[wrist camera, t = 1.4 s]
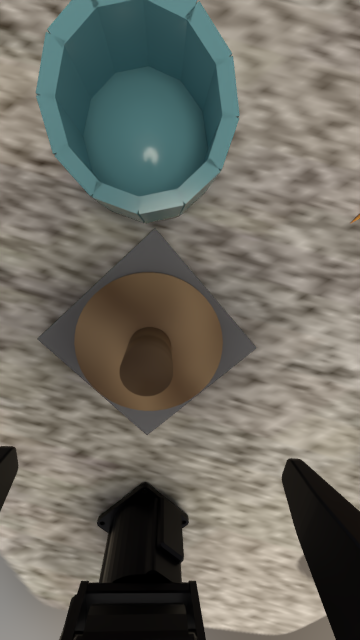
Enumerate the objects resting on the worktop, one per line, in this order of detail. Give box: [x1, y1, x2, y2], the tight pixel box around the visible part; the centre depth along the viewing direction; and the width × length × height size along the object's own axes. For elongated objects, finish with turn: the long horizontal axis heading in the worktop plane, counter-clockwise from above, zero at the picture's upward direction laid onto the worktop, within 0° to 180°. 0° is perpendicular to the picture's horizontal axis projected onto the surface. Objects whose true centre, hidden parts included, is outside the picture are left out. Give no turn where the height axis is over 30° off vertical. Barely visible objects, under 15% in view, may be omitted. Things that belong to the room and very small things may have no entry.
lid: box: [74, 272, 223, 411], centre depth 18 cm, size 11×11×5 cm
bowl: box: [36, 0, 239, 223], centre depth 14 cm, size 9×9×5 cm
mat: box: [38, 229, 256, 435], centre depth 20 cm, size 12×12×1 cm
